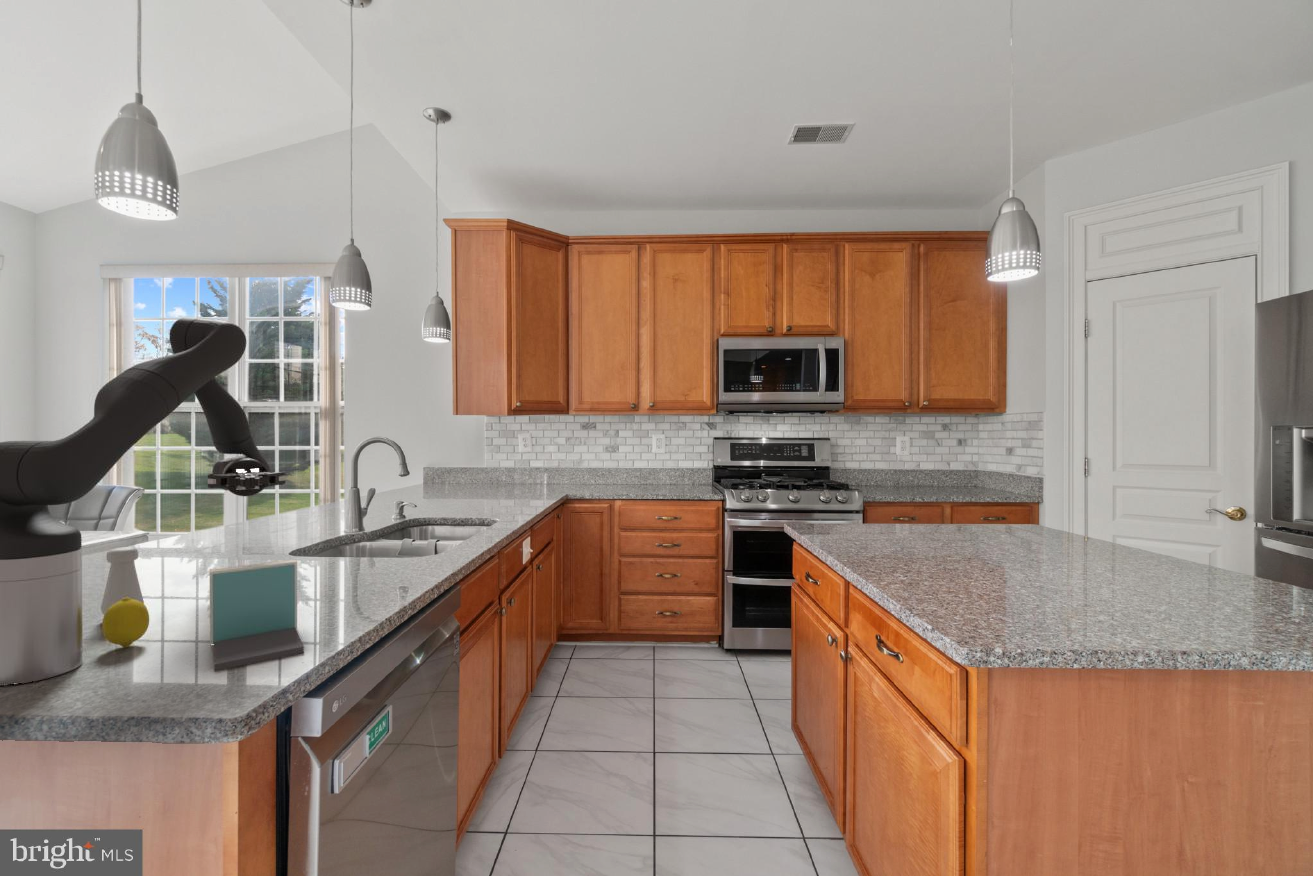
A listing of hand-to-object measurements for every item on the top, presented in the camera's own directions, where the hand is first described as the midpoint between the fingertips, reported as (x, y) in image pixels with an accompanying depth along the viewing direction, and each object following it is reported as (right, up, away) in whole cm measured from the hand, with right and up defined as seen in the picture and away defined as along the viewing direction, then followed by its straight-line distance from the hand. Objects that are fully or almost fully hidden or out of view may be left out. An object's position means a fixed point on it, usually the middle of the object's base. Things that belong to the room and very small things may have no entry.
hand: (250, 483), depth 104 cm
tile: (+6, -25, -8) cm, 27 cm away
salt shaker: (-24, -25, +1) cm, 35 cm away
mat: (+11, -25, -14) cm, 31 cm away
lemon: (-11, -26, -13) cm, 31 cm away
